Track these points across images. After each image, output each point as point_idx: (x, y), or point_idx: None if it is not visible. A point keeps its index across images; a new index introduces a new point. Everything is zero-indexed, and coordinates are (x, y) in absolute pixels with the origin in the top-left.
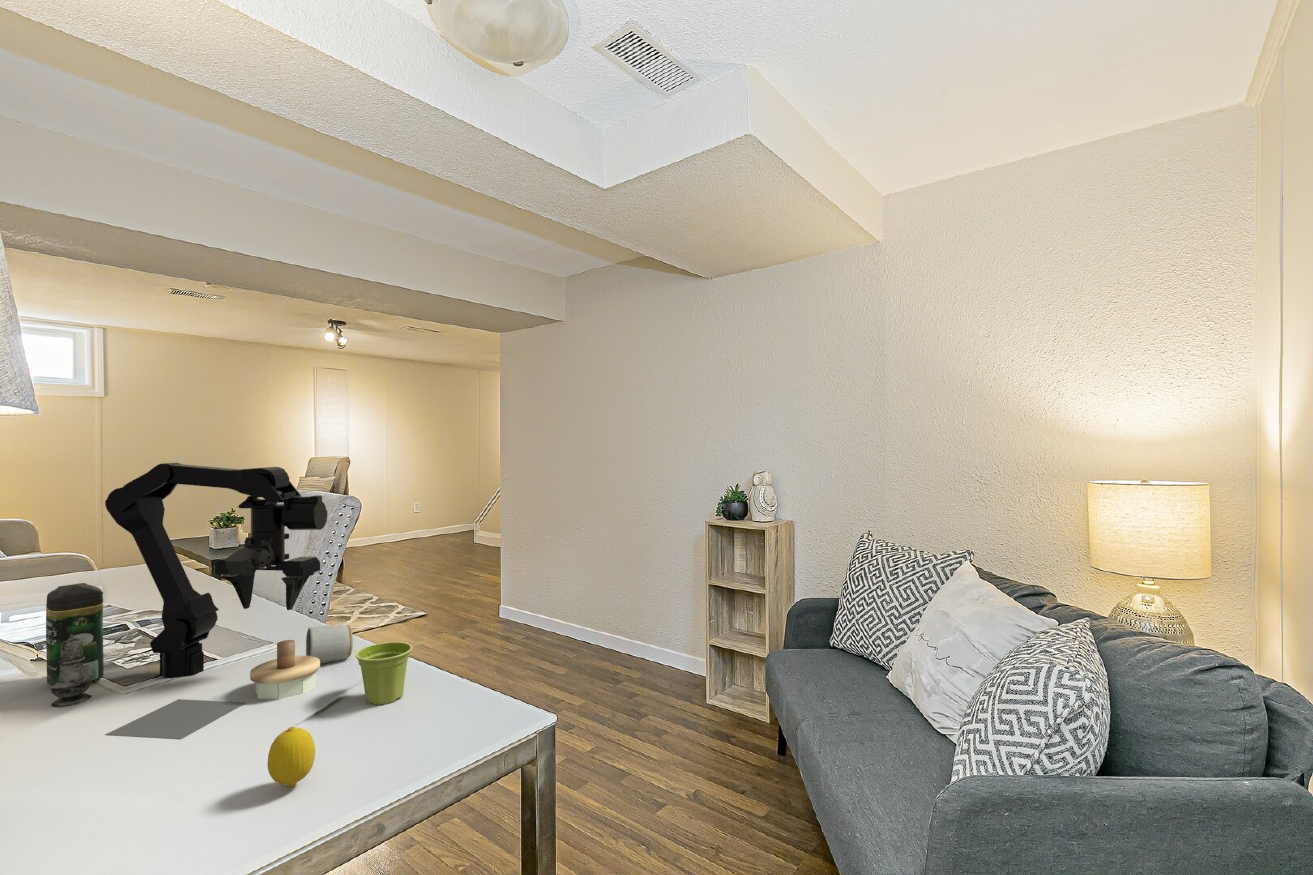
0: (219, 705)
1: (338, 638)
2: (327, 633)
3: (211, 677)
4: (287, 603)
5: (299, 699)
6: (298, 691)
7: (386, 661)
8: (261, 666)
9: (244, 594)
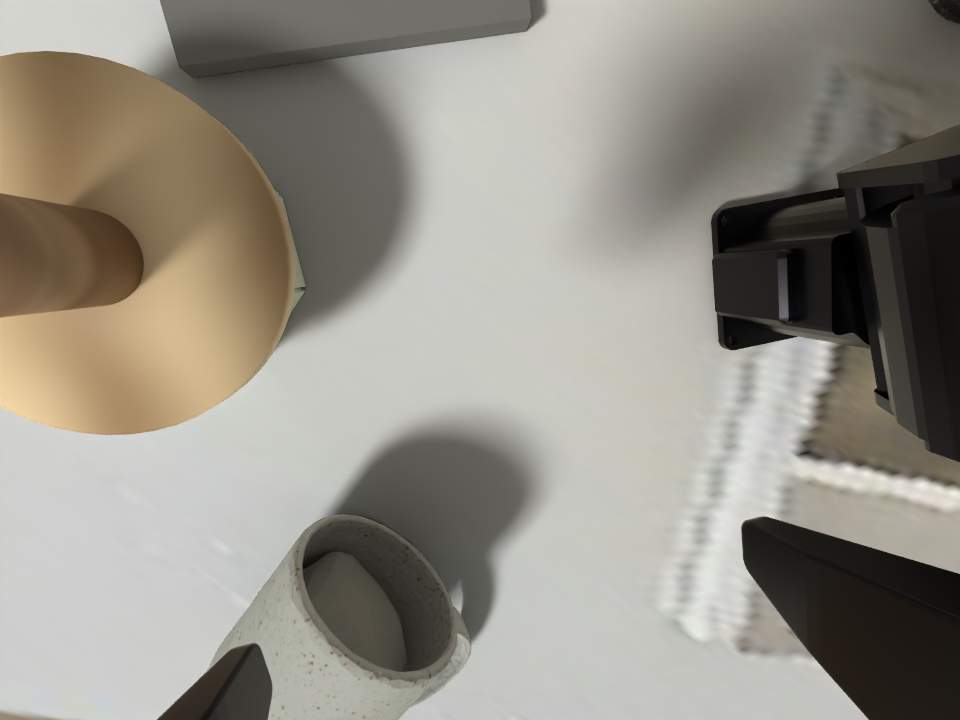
0: (273, 2)
1: None
2: None
3: (658, 305)
4: (188, 709)
5: None
6: None
7: None
8: (240, 215)
9: (914, 638)
